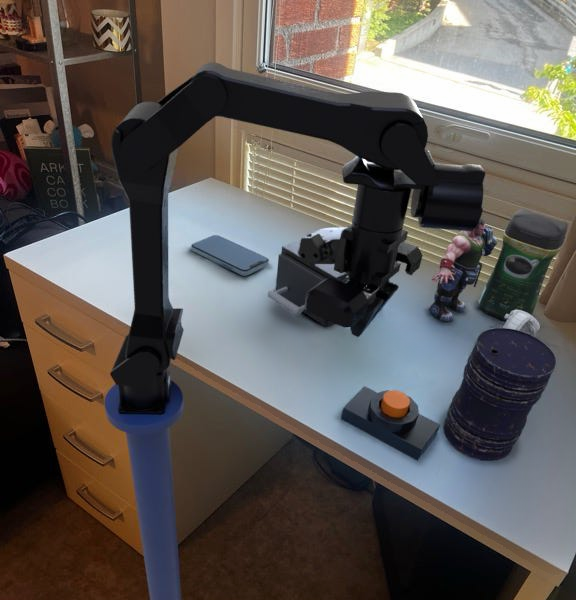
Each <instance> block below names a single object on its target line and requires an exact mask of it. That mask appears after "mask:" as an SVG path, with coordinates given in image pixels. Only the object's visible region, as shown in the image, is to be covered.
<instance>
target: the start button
mask: <svg viewBox="0 0 576 600" xmlns="http://www.w3.org/2000/svg"><path fill="white" fill-rule="evenodd" d="M408 396H409V395H407V394H406V393H404V392H403V391H400V390H395V389H391V391H387V392H386V393H385V394H384V395H383V399H382V403H381V409H382V411H383V412H384V413H385V414H387V415H389V416H391V417H396V418H400V417H403V416H405V415H406V413H407V411H408V408H409V404H410V399H409V397H410V396H409V397H408Z"/></svg>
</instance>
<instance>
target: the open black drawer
mask: <svg viewBox="0 0 576 600" xmlns="http://www.w3.org/2000/svg"><path fill="white" fill-rule="evenodd" d="M277 258H278V259H277V270H276V271H277V272H276V280H275V281H276V282H275V290H273V289H271V290H269V291H268V292H267V298H269V299H270V300H272V301H274V302H275V303H276V304H277V305H279V306H280V307H282V308H284V309H285V310H287V311H288V312H290V313H292V314H293V315H295V316H296V317H299V316H300V315H301V314H302V313H304V314H305V315H307V316H308V317H310V318H312V319H313V320H315V321H316V322H318V323H319V324H322V323H323V322H325V321H326V319H324V318H322V317H320V316H317V315H315V314H313V313H311V312H309V311H306V309H305V298H306V292H308V291H309V290H311V289H312V288H313V287H315V286H316V285H318V284H319V283H320V282H322V281H323V280H325V279H327V278H328V277H326V276H324V275H323V274H321V273H319V272H317V271H316V270H314V269H312V268H311V267H309V266H307V265H306V264H304V263H302V262H300V261H299V260H297V259H295V258H294V257H290V256H288V255H287V254H285V253H282V254H281V253H279V254H278V257H277Z"/></svg>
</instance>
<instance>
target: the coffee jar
mask: <svg viewBox="0 0 576 600" xmlns="http://www.w3.org/2000/svg"><path fill="white" fill-rule="evenodd" d="M568 226H569V224H568V222H567V221H563V220H559V219H555V218H552V217H549V216H547V215H543V214H539V213H536V212H534V211H530V210H527V209H525V208H520V209H518V210H517V211H516V212H515V213H514V214H513V215H512V216H511V218H510V220H509V221H508V224H507V225H506V227H505V229H504V230H503V234H502V247H501V249H500V253H499V255H498V258H497V259H496V263H495V265H494V267H493V269H492V272H491V274H490V276H489V277H488V279H487V282H486V284H485V285H484V287H483V290H482V292H481V295H480V297H479V300H478V306H479V308H480V309H481V310H482V311H483V312H484V313H486V314H489V315H491V316H493V317H496V318H497V319H501V320H504V321H505V322H507V319H505V318H504V317H505V315H506V314H510V313H511V311H513V310H522V311H524V312H527V313H529V314H530V315H532V316H533V314H534V312H535V309H536V306H537V303H538V300H539V298H540V297H539V296H540V294H541V293H540V292H541V290H542V287H543V284H544V280H545V277H546V275H547V273H548V270H549V267H550V265H551V262H552V261H553V259H554V257H556V256H557V255H558V254H559V253H560V251H561V250H562V248H563V246H564V243H565V239H566V235H567V231H568Z"/></svg>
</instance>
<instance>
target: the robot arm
mask: <svg viewBox="0 0 576 600" xmlns="http://www.w3.org/2000/svg"><path fill="white" fill-rule="evenodd" d="M216 117H219V118H220V117H221V118H225V119H230V120H235V121H239V122H244V123H248V124H252V125H256V126H261V127H265V128H270V129H275V130H280V131H283V132H288V133H292V134H297V135H301V136H307V137H310V138H314V139H320V140H325V141H328V142H330V143H333V144H334V145H335V144H336V145H338V146H339V147H342V148H343V149H345V150H347V151H348V152H350V153H351V154H352V155H354V156H355V157H354V158H353V159H352V160H350V161H348V162H347V163H346V164H344V165H342V166H341V175H342V181H343V183H344V184H348V185H357V188H356V194H355V201H354V208H353V213H352V218H351V219H352V220H351V224H349V225H348V226H347V227H337V228H334V227H324V228H320V229H318V230H316V231H314V232H312V233H307V234H306V235H304V236H302V237H301V238H300V240H301V242H300V247H299V250H298V255H299V256H300V259H301V261H302V262H303V263H305V264H308V265H313V266H314V265H315V264H334V270H335V271H337V272H340V273H344V272H345V273H348V274H347V277H346V278H344V279H343V280H342V281H338V280H336V279H333V278H331V277H329V278H327V279H325V280H323V281H322V282H320V283H319V284H318V285H316V286H315V287H313V288H312V289H311V290H309V291H308V292H306V298H305V309H306V311H309V312H311V313H313V314H315V315H317V316H320V317H322V318H324V319H326V320H328V321H331V322H333V323H335V324H334V325H338V326H339V327H342V328H350V334H351V335H352V336H354V337H355V338H359V337H361V336H362V335H363V333H364V332H365V331H366V330H367V329H368V327H369V326H370V325H371V323H372V322H373V321H374V319H375V318H376V317H377V316H378V314H379V313H380V312H381V311H382V310H383V308H384V307H385V306H386V304H387V303H388V302H389V300H390V299H391V298H392V297H393V296H394V294H395V293H396V292H397V291H398V290H399V285H398V284H397V283H395V282H392V281H390V279H391V278H393V277H394V276H395V275H396V274H397V273H398V272H400V269H401V265H402V264H403V263H404V264H406V266H405V270H404V271H405V273H406V275H409V276H412V275H413V274H414V273H415V272H416V271H418V270H419V269H420V267H421V263H422V260H423V253H422V251H421V249H420V248H419V246H418V245H415V244H412V243H411V242H407V239H408V235H409V230H406V229H404V225H405V220H406V216H407V213H408V212H407V211H408V206H409V202H410V215H411V216H410V217H412V218H417V222H418V225H419V227H420V228H425V229H435V230H447V231H473V230H474V229H475V228H476V227H477V225H478V223H479V220H480V218H481V219H482V215H483V210H484V207H483V202H484V201H483V200H484V181H485V177H486V172H485V170H484V168H483V167H482V165H481V164H472V163H470V164H469V163H467V164H463V165H462V164H461V165H460V164H447V163H437V162H435V161H434V158H433V157H432V155H431V153H430V150H429V149H428V148H427V143H428V139H429V132H428V126H427V123H426V122H425V121H426V120H425V119H424V117H423V116H422V113H421V112H420V110H419V108H418V106H417V103H416V102H415V101H414V99H412V98H411V97H410V96H408V95H406V94H404V93H401V92H393V91H392V92H390V91H361V92H353V93H337V92H332V91H327V90H324V89H319V88H315V87H311V86H306V85H302V84H298V83H293V82H289V81H285V80H280V79H277V78H272V77H267V76H263V75H259V74H256V73H255V74H254V73H251V72H246V71H241V70H237V69H233V68H230V67H227V66H225V65H223V64H222V63H219V62H212V61H211V62H207V63H204V64H202V65H201V66H200V67H199V68H198V69H197V70H196V71H195V73H194V74H193V75H192V76H191V77H189V78H188V79H186V80H185V81H183V82H182V83H181V84H179V85H178V86H176V87H174V88H173V89H172V90H171V91H169V92H168V93H167V94H166V95H164V96H163V97H162V98H161V99H160V100H158V101H157V102H155V101H143V102H140V103H138V104H136V105H135V106H134V107H133V108H131V109H130V111H128V113H127V114H126V116H124V118H123V119H122V120H121V121H120V122H119V124H118V125H117V126H116V127H115V129H114V130H113V132H112V134H111V136H110V137H111V138H110V150H111V155H112V158H113V159H112V160H113V162H114V167H115V171H116V175H117V179H118V181H119V184H120V186H121V188H122V191H123V192H124V194H125V196H126V198H127V201H128V207H129V208H128V209H129V227H130V228H129V229H130V245H131V263H132V264H131V265H132V266H131V267H132V283H133V284H132V285H133V303H134V310H133V314H132V320H131V324H130V326H129V331H128V333H127V334H126V335H125V337H124V340H123V342H122V345H121V347H120V349H119V352H118V354H117V356H116V359H115V361H114V364H113V366H112V368H111V370H110V373H109V375H110V377H111V379H112V380H113V382H114V384H116V385H118V390H119V397H120V403H119V407H118V413H119V414H150V415H163V414H164V413H165V409H166V403H168V402H169V400H170V392H171V388H170V380H171V374H170V373H171V371H170V370H169V367H170V364H171V361H172V360H173V361H175V360H176V358H177V355H178V351H179V348H180V344H181V341H182V338H183V335H184V328H183V325H182V317H183V314H184V313H183V312H184V308H182V307H181V308H179V307H178V308H174V307H173V306H172V303H171V302H170V298H169V296H170V295H169V292H170V291H169V193H170V190H171V184H172V180H173V177H174V172H175V168H176V164H177V160H178V159H177V158H178V153H179V148H180V147H181V146H182V145H184V144H185V143H186V142H187V141H188V140H189V139H190V138H191V137H192V136H194V135H195V134H196V133H197V132H198V131H199V130H201V128H203V127H204V126H205V125H206V124H208V123H209V122H210V121H212V120H213V119H214V118H216ZM411 193H412V194H411ZM410 198H411V201H410ZM121 410H123V411H121Z"/></svg>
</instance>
